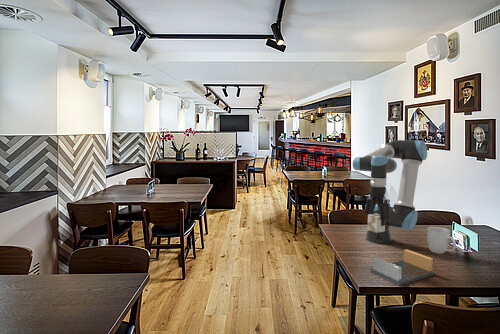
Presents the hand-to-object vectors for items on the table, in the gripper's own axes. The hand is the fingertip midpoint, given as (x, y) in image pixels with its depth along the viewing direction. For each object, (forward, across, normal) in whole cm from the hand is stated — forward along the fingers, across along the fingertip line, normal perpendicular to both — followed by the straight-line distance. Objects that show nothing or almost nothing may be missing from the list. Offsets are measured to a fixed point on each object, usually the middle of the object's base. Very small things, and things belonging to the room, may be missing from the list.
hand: (375, 229), depth 166 cm
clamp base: (+17, +16, +1) cm, 24 cm away
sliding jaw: (+15, +16, +12) cm, 25 cm away
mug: (+17, +6, +44) cm, 48 cm away
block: (0, 0, 0) cm, 0 cm away
